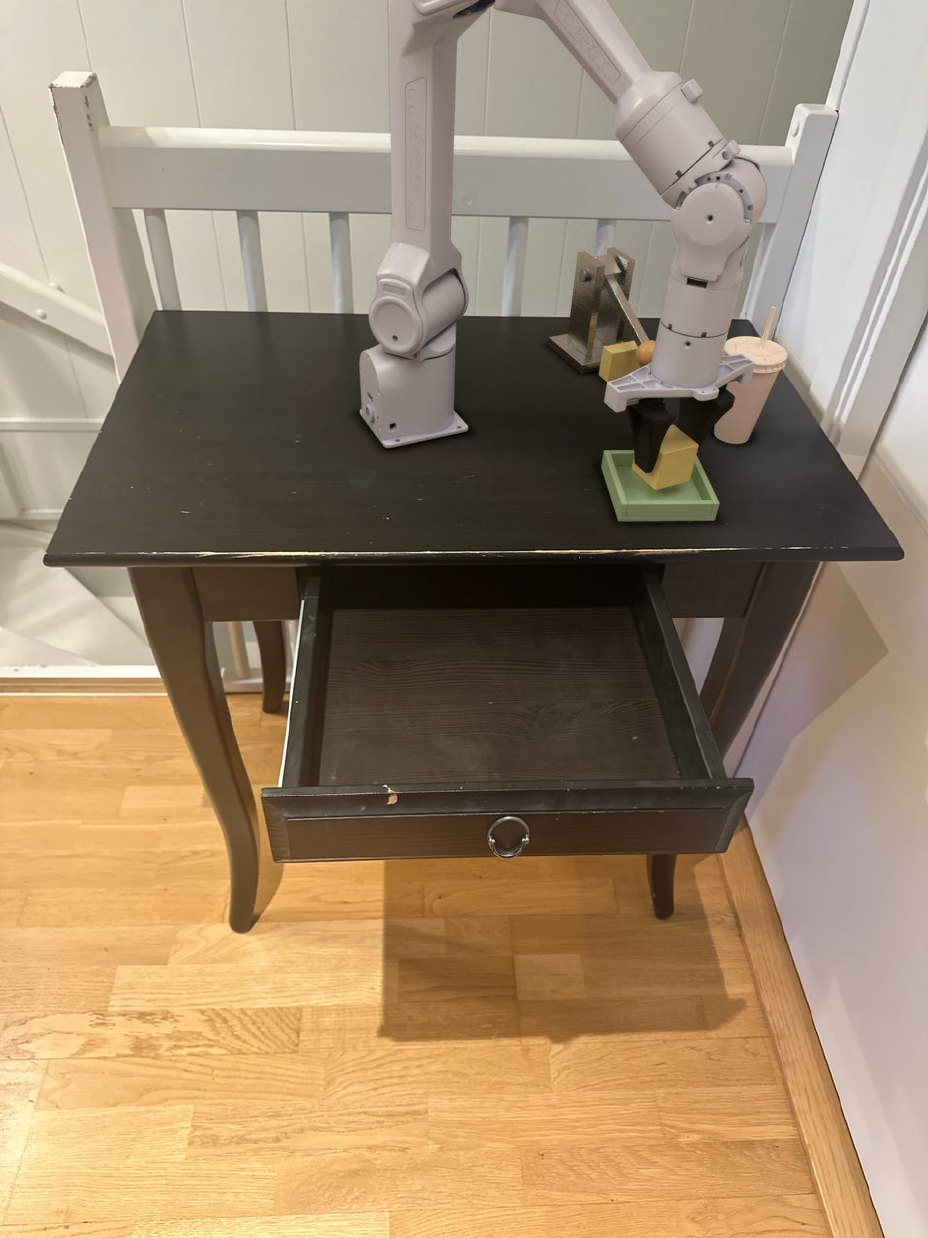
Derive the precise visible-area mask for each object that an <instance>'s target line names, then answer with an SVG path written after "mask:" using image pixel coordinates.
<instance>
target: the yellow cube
mask: <svg viewBox="0 0 928 1238" xmlns="http://www.w3.org/2000/svg"><path fill="white" fill-rule="evenodd" d="M698 446H699V445H698V444H697V443H696V442H694V441H693V440H692V439H691V438H689V437H688V436H687V435H686V434H685V433H683V432H682V431H681V430H680V429H678V428H677V426H676V425H675V424H671V426H670V427H669V429H668V431H667V433H666V435H665V437H664V439H663V442H662V444H661V447H660V451H659V455H658V459H657V462H656V464H655V467H654V469H653V471H652V472H651V473H645V472H643V471H642V470H641V469H640V468H639V467H638V466H637V465H636V464H635V463H634V459H633V464H632V469H633V470H634V471H635V472H636V473H637V474H638V475H639V476H640V477H641V478H642V479H643V480H644V481H646V482H647V483H648V484H649V485H650V486H651V487H652V488H653V489H654V490H658V489H662V488H666V487H669V486H673V485H677V484H681V483H684V482H688V481H690V477H691V473H692V469H693V466H694V462H695V458H696V455H697V453H698V452H697V450H698ZM698 451H699V450H698Z"/></svg>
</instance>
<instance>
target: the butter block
mask: <svg viewBox="0 0 928 1238" xmlns="http://www.w3.org/2000/svg"><path fill="white" fill-rule="evenodd" d="M637 349H638V347H637V345H636V343H635V341H634V340H630V341H625V342H624V343H619V344H614V345H609V346H604V347H603V351H602V357H601V364H600V370H598V376H599V377H600V378H601V379H602V380H604V381H605V382H606V383H607V382H610V381H614V380H617V379H620V378H622V377H624V376H626V375H628V374H630V373H632V372H634V371H636V370H638V369H639V368H641V366H640V365H639V364H638V362H637V360H636V351H637Z"/></svg>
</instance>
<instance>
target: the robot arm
mask: <svg viewBox="0 0 928 1238" xmlns="http://www.w3.org/2000/svg"><path fill="white" fill-rule="evenodd" d="M491 7H493V9H494V10H496V11H499V12H504V13H509V14H514V15H520V16H524V17H529V18H534V19H538V20H541V21H543V22H544V24H545V25H546V26H547V27H548V28H549V29H550V31H551V32H552V33H553V34H554V35H555V36H556V37H557V39H558V40H559V42H561V44H562V45H563V46H564V47H565V48H566V50H567V51H568V52H569V53H570V55H572V57H573V58H574V59H575V61H577V63H578V64H579V65H580V66H581V67H582V68H583V70H584V71H585V72H586V73H587V75H588V76H589V77H590V78H591V80H592V81H593V82H594V83H595V85H596V86H597V87H598V88H599V89H600V90H601V91H602V93H603V94H604V95H605V96H606V98H607V99H608V100H609V101H610V103H612V105H613V106H614V136H615V138H616V140H618V142H619V144H621V146H622V147H623V148H624V150H625V151H626V152H627V154H628V155H629V156H630V158H631V159H632V160H633V162H634V163H635V165H637V168H639V169H640V171H641V173H642V174H643V175H644V176H645V178H646V179H647V180H648V181H649V183H650V184H651V186H652V187H653V188H654V189H655V191H656V192H657V193H658V195H659V196H660V197H661V199H662V200H663V201H664V202H665V204H667V205H668V206H670V207H671V208H672V210H671V212H670V213H671V214H670V225H671V230H672V234H673V236H674V239H675V241H676V246H675V249H674V250H675V251H674V256H673V260H672V262H671V264H670V268H669V273H668V277H667V283H666V288H665V292H664V293H665V294H664V298H663V304H662V308H661V312H660V313H661V314H660V319H659V323H658V329H657V332H656V338H655V341H656V343H655V348H654V353H653V358H652V362H651V363H649V364H647V365H645V366H643V367H640V368H639V369H638V370H636V371H634V372H632V373H630V374H628V375H626V376H624V377H622V378H620V379H617V380H614V381H610V382H606V386H605V387H606V388H605V393H604V399H603V402H604V403H605V404H606V406H608V407H609V408H610V409H611V410H613V411H614V412H615V413H621V412H625V413H626V416H627V419H628V423H629V426H630V431H631V437H632V445H633V450H634V463H635V464H636V465H637V466H638V467H639V468H640V469H641V470H642V471H643V472H645V473H651V472H652V471H653V469H654V467H655V464H656V462H657V459H658V455H659V451H660V447H661V444H662V442H663V439H664V437H665V435H666V433H667V431H668V429H669V427H670V426H671V425H673V423H674V421H675V420H676V419H677V417H676V416H675V415H674V414H672V413H671V412H670V411H669V410H667V409H666V403H665V402H664V398H666V399H667V398H679V411H678V412H679V413H678V421H677V426H676V427H677V428H678V429H680V430H681V431H682V432H683V433H685V434H686V435H687V436H688V437H689V438H691V439H692V440H693V441H694V442H696V443H697V444H698V445H699V446H698V450H697V453H698V452H699V450H700V448H701V447H702V445H703V443H704V442H705V440H706V439H707V437H708V435H709V434H710V433H711V431H712V429H714V428H715V424H716V423H717V422H718V421H719V420H720V419H721V418H722V416H723V415H724V414H725V413H727V412H728V411H729V410H730V409H731V408H732V407H733V404H734V401H735V396H734V395H733V394H732V393H731V392H729V391H728V390H726V388H727V384H728V383H731V382H736V381H737V382H738V383H740V384H746V383H750V382H751V378H752V375H753V371H754V368H755V364H756V363H755V362H753V361H752V360H750V359H749V358H747V357H746V356H744V355H743V354H739V355H731V356H722V355H723V351H724V347H725V343H726V341H727V340H728V339H727V338H728V334H729V331H730V328H731V324H732V319H733V316H734V312H735V309H736V304H737V301H738V296H739V293H740V292H739V291H740V289H741V285H742V281H743V277H744V264H745V262H746V261H747V257H748V251H749V245H750V241H751V237H750V232H751V231H752V230H753V228H754V227H755V226H756V225H757V223H758V222H759V220H760V219H761V217H762V216H763V213H764V211H765V208H766V206H767V202H768V195H769V194H768V193H769V192H768V191H769V190H768V184H767V180H766V177H765V176H764V175H765V174H764V173H763V172H762V169H761V164H760V163H759V161H757V160H756V159H755V158H753V157H752V156H749V155H746V154H743V153H740V152H741V151H742V149H741V147H740V146H739V144H738V143H737V142H736V140H735V139H732V140H730V142H728V141H727V139H726V138H725V137H724V135H723V133H722V132H721V131H720V129H719V128H718V127H717V125H716V124H715V123H714V121H713V120H712V119H711V117H710V116H709V114H708V113H707V111H706V110H705V109H704V107H703V106H702V105H701V103H700V102H699V99H700V98H701V97H702V96H703V94H704V91H703V89H702V88H701V86H700V85H699V84H698V82H697V81H696V79H693V78H692V79H689V80H688V81H686V82H685V81H684V80H683V79H682V76H680V74H679V73H678V72H675V71H659V70H654V69H652V68H651V66H650V65H649V63H648V62H647V60H646V59H645V57H644V56H643V54H642V53H641V51H640V49H639V48H638V46H637V44H636V43H635V42H634V40H633V38H632V37H631V36H630V34H629V33H628V31H627V29H626V28H625V26H624V25H623V24H622V22H621V19H619V17H618V16H617V14H616V13H615V11H614V10H613V8H612V7H611V5H610V3H609V2H608V0H390V2H389V11H388V47H389V48H388V51H389V52H388V53H389V55H388V56H389V57H388V59H389V115H390V116H389V118H390V119H389V120H390V121H389V123H390V184H391V185H390V186H391V187H390V188H391V189H390V190H391V192H390V193H391V197H390V199H391V244H390V245H389V248H388V250H387V252H386V254H385V256H384V258H383V259H382V261H381V264H380V265H379V267H378V268H377V269H378V270H377V272H376V275H375V293H374V295H373V298H372V299H371V301H370V304H369V307H368V324H369V327H370V330H371V332H372V335H373V336H374V338H375V339H376V341H377V342H378V344H377V345H375V346H374V347H371V348H369V349H365V350H363V351H362V352H361V353H360V355H359V356H360V357H359V366H358V367H359V383H360V400H361V401H360V402H361V408H360V410H359V415H360V416H361V418H362V419H363V420H364V422H365V423H366V424H367V426H368V427H369V429H370V430H371V432H373V434H374V435H375V437H376V438H377V439H378V441H379V442H380V444H381V445H382V446H383V447H384V448H385V449H393V448H397V447H402V446H407V445H411V444H416V443H420V442H425V441H429V440H434V439H438V438H439V439H440V438H443V437H449V436H453V435H457V434H461V433H466V432H468V431H469V425H468V424H467V423H466V422H465V421H464V419H462V418H461V416H459V414H458V412H456V411H455V383H456V381H455V380H456V349H457V347H456V343H457V337H456V336H457V335H456V334H457V322H458V321H459V320H461V319H462V318H463V317H464V315H465V314H466V312H467V310H468V306H469V301H470V296H469V289H468V284H467V282H466V281H465V278H464V273H463V269H462V268H463V265H462V263H463V261H462V260H463V257H462V256H463V255H462V253H461V252H460V250H459V249H458V247H457V246H456V245H455V244H454V243H453V241H452V216H453V215H452V213H453V184H454V155H455V154H454V153H455V127H456V126H455V125H456V123H455V122H456V121H455V120H456V96H457V95H456V94H457V93H456V91H457V90H456V89H457V63H458V61H457V60H458V59H457V57H458V41H459V39H460V38H461V37H462V35H463V34H465V32H466V31H467V30H468V29H470V27H471V26H473V25H474V24H475V23H476V21H478V20H479V19H480V18H481V17H482V16H483V15H484V14H485V13H486V12H487V11H488V10H489V9H490V8H491Z"/></svg>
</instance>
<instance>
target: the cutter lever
mask: <svg viewBox="0 0 928 1238" xmlns="http://www.w3.org/2000/svg"><path fill="white" fill-rule="evenodd" d="M593 257H594V258H596V259H597V260H599V261H600V262H602V263H603V264H605V271H604V278H603V285H602V290H603V289H606V290H607V292H608V294H609V296H610V298H611V299H612V301H613V303H614V305H615V307H616V308H617V310H618V312H619V314H620V316H621V318H622V319H623V321H624V323H625V324H624V326H625V327H626V329H627V330H628V332H629V334H630V336H631V337H632V339H633V341H635V343H636V345H637V347H638V349H637V351H636V360H637V362H638V364H639V365H640V366H641V367H643V366H645V365H647V364H649V363H651V362H652V358H653V353H654V348H655V343H656V340H653V339H652V340H650V338H649V336H648V335H647V333H646V331H645V330H644V328H643V326H642V325H641V322H640V320H639V318H638V317H637V315H636V314H635V312H634V310H633V308H632V306H631V304H630V302H629V301H627V299H626V297H625V295H624V294H623V292H622V290H621V288H620V286H619V285H618V283H617V279H618V277H619V275H620V274H621V271H620V269H619V268H618V266H617V264H616V262H615V261H614V259H613V257H612V255H611V254H607V253H606V254H600V255H595V256H593ZM641 367H640V368H641Z"/></svg>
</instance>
